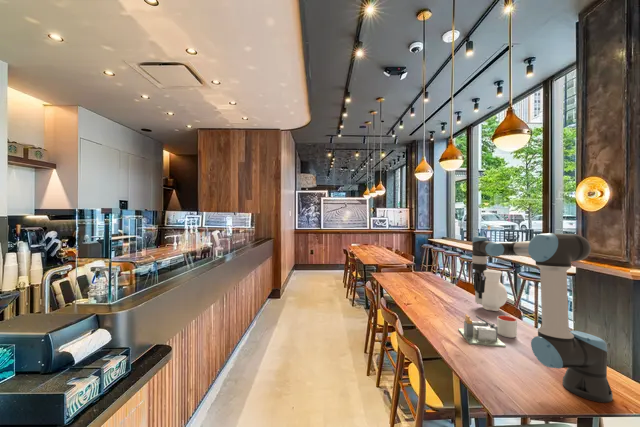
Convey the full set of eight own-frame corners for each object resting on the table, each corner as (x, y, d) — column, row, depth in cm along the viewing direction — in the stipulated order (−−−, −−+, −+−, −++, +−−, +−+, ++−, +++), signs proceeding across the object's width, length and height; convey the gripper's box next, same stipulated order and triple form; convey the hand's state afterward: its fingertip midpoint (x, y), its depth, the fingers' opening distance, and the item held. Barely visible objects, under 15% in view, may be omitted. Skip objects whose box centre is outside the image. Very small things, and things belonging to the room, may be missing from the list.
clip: (472, 323, 168) (472, 317, 168) (467, 323, 168) (467, 316, 168) (469, 321, 172) (469, 314, 172) (465, 320, 173) (465, 314, 173)
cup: (519, 339, 168) (520, 322, 168) (500, 337, 170) (501, 320, 170) (512, 332, 178) (512, 316, 178) (494, 330, 180) (494, 314, 180)
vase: (512, 311, 217) (513, 272, 217) (492, 315, 209) (493, 273, 209) (489, 304, 235) (490, 267, 235) (470, 307, 227) (471, 268, 227)
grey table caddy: (505, 347, 158) (505, 331, 158) (469, 344, 161) (469, 328, 161) (490, 332, 178) (490, 318, 178) (458, 329, 181) (458, 316, 181)
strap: (495, 329, 167) (496, 327, 167) (476, 317, 168) (477, 316, 168) (493, 327, 169) (494, 325, 169) (475, 316, 171) (476, 314, 171)
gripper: (491, 265, 162) (490, 307, 162) (481, 261, 176) (480, 299, 176) (477, 264, 163) (476, 306, 163) (468, 260, 177) (467, 298, 177)
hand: (478, 302), depth 170 cm, fingers closed
